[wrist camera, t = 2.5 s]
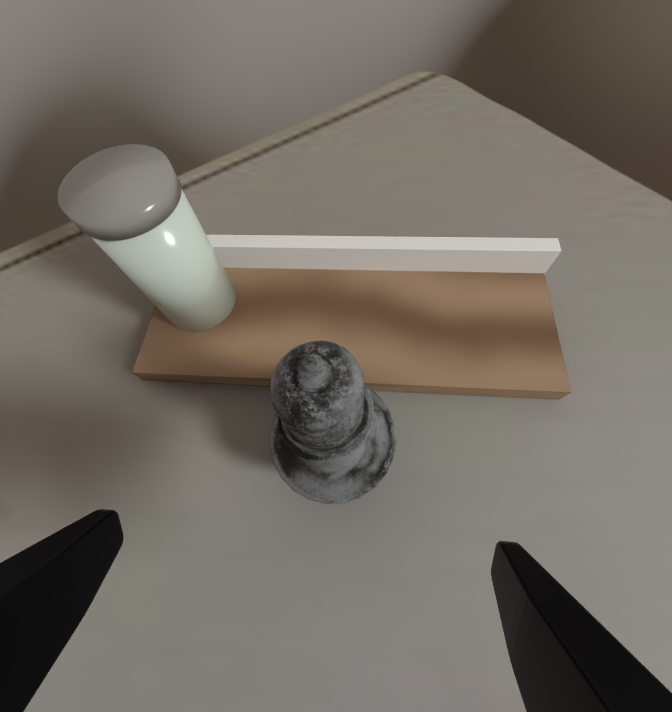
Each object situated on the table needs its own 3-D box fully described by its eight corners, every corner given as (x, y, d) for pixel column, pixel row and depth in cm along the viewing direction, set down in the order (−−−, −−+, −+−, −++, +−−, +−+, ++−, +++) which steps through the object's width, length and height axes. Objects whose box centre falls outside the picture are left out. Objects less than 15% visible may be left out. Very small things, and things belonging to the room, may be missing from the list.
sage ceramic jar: (166, 341, 22) (51, 234, 14) (163, 281, 24) (63, 157, 16) (241, 322, 22) (173, 206, 14) (232, 264, 24) (168, 134, 16)
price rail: (536, 284, 24) (561, 251, 21) (177, 277, 26) (154, 246, 23) (533, 270, 24) (557, 235, 21) (182, 264, 26) (160, 232, 23)
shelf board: (559, 399, 20) (570, 392, 19) (143, 379, 22) (132, 372, 21) (533, 273, 24) (541, 261, 23) (180, 266, 26) (172, 255, 25)
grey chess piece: (410, 437, 20) (471, 331, 9) (349, 532, 18) (335, 545, 7) (325, 381, 21) (292, 235, 11) (262, 462, 20) (143, 387, 9)
